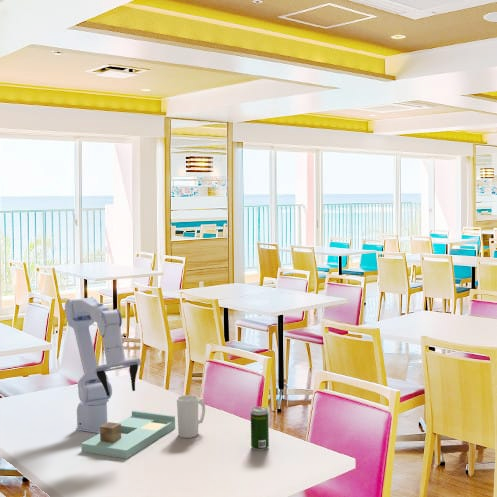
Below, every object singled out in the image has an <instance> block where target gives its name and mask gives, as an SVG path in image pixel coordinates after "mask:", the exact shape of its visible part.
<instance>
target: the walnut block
mask: <svg viewBox="0 0 497 497" xmlns="http://www.w3.org/2000/svg"><path fill="white" fill-rule="evenodd" d="M119 423H120V422H117V423H116V422H109V421H107V423H106V424H104V425H102V426H100V433H99V434H100V441H103V442H109V443H114V442H116V441H117V440H119V439H121V424H119Z"/></svg>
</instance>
